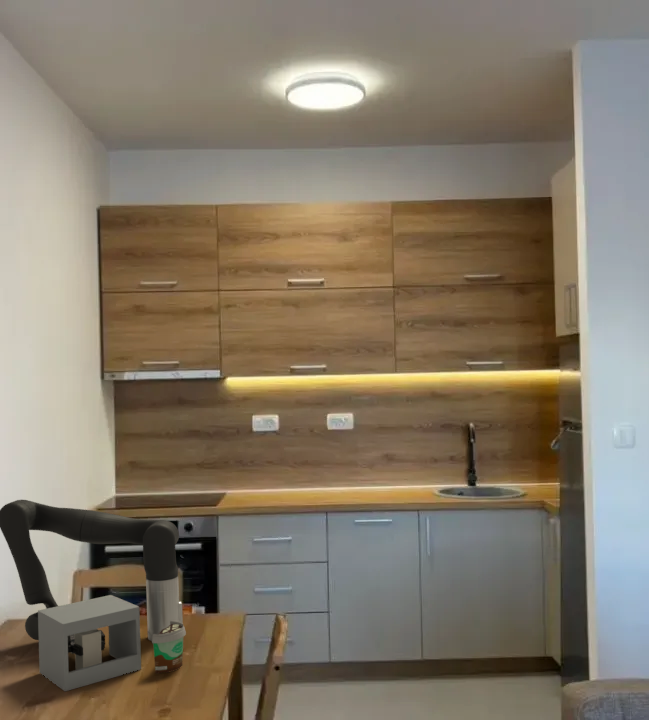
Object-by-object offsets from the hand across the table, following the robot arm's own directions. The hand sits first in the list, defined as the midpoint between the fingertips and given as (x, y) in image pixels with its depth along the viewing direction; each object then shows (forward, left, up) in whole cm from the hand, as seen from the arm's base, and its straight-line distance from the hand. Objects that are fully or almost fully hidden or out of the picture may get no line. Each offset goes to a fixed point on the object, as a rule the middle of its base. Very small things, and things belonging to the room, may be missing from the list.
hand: (92, 649), depth 199 cm
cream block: (0, -3, -6) cm, 7 cm away
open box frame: (0, -2, -6) cm, 6 cm away
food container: (-17, +11, -6) cm, 21 cm away
